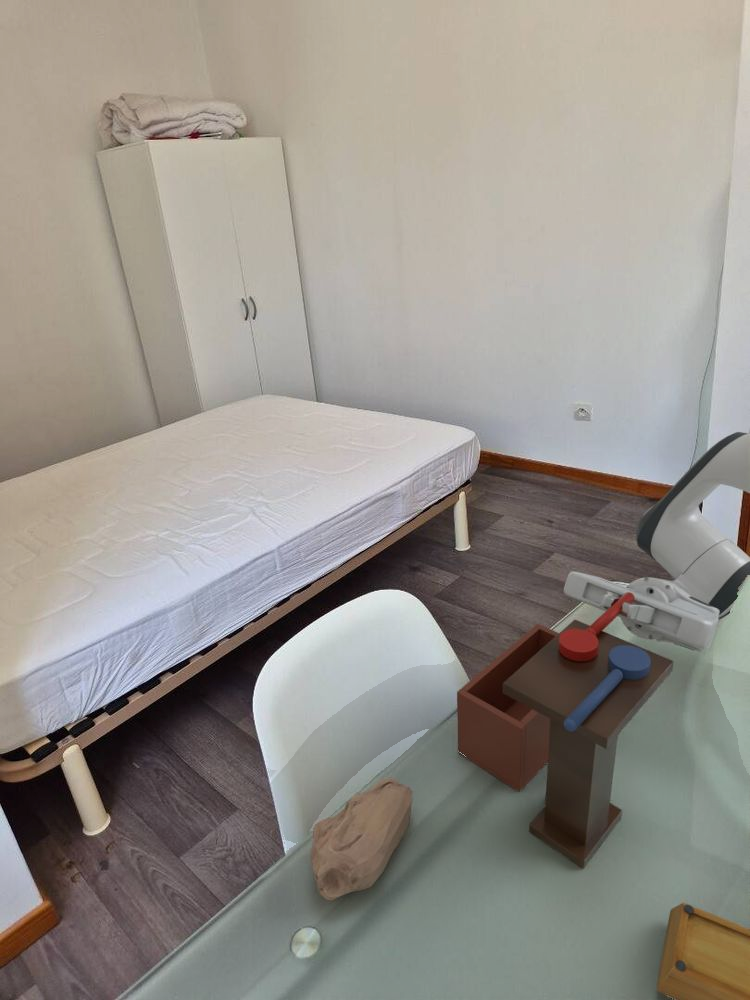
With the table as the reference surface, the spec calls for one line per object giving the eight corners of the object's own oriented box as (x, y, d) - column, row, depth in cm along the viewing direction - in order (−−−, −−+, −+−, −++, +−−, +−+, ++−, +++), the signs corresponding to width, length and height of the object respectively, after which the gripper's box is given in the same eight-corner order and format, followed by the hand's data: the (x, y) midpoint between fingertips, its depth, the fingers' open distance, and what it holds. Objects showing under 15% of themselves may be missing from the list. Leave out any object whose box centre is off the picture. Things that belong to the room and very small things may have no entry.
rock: (367, 870, 77) (291, 830, 80) (353, 935, 80) (280, 894, 83) (423, 777, 93) (358, 748, 97) (410, 834, 96) (347, 804, 100)
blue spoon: (586, 744, 70) (587, 733, 70) (547, 722, 73) (548, 712, 73) (656, 665, 80) (657, 655, 80) (619, 649, 83) (620, 639, 83)
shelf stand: (564, 764, 101) (574, 619, 89) (650, 814, 92) (674, 661, 81) (499, 836, 91) (502, 683, 79) (589, 899, 82) (607, 738, 71)
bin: (535, 680, 117) (537, 623, 112) (594, 711, 110) (600, 651, 104) (457, 753, 104) (456, 691, 99) (519, 792, 97) (521, 728, 91)
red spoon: (614, 593, 94) (615, 585, 93) (647, 605, 91) (648, 596, 90) (551, 651, 84) (551, 641, 83) (585, 666, 81) (586, 657, 80)
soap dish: (674, 888, 78) (669, 916, 80) (659, 969, 70) (653, 998, 72) (802, 940, 72) (792, 968, 74) (800, 1034, 64) (789, 1063, 66)
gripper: (593, 564, 106) (553, 557, 96) (732, 613, 93) (704, 612, 82) (580, 602, 106) (539, 600, 96) (717, 657, 93) (686, 661, 83)
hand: (616, 606), depth 89 cm, fingers closed on red spoon, 1 cm apart
